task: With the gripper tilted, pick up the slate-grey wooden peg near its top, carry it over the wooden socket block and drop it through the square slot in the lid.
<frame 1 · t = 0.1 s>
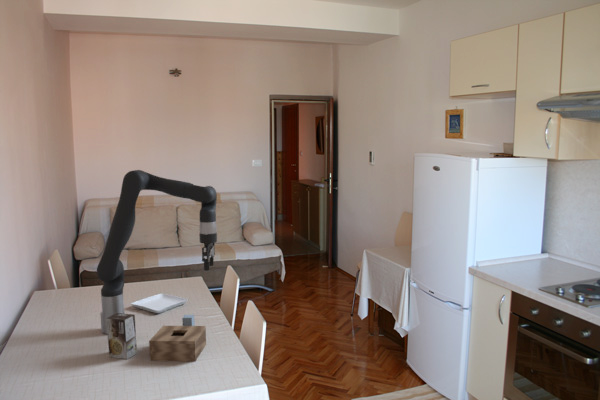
hand: (209, 268, 215), 29 cm above the table, tool pointing down, fingers open, 8 cm apart
coffee box: (123, 355, 195), on the table
slate peg: (189, 338, 211), on the table
wooden socket block: (179, 352, 197), on the table
salad plate: (160, 307, 254), on the table
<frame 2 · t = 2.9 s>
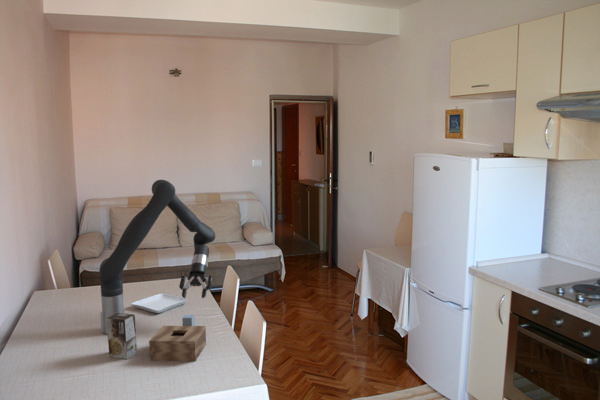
hand: (193, 297, 217), 16 cm above the table, tool tilted 45°, fingers open, 8 cm apart
nothing on the table moved.
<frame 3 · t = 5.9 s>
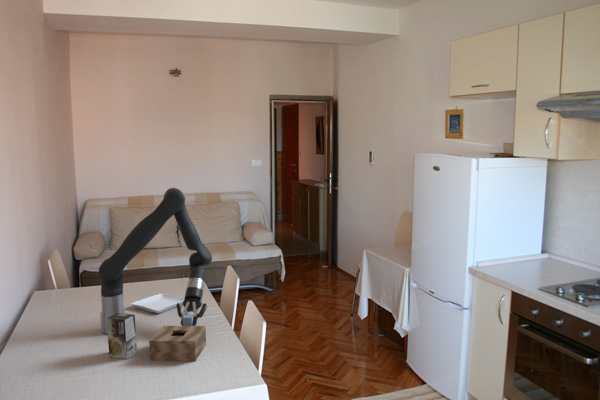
hand: (188, 325, 209), 6 cm above the table, tool tilted 45°, fingers closed on slate peg, 4 cm apart
slate peg: (189, 338, 211), on the table, touching gripper
everything else where it was.
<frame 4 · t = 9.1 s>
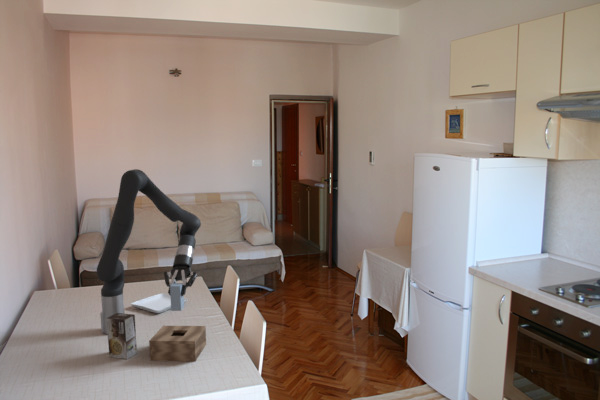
hand: (176, 295, 193), 24 cm above the table, tool tilted 45°, fingers closed on slate peg, 4 cm apart
slate peg: (177, 309, 195), point 18 cm above the table, touching gripper
everything else where it was.
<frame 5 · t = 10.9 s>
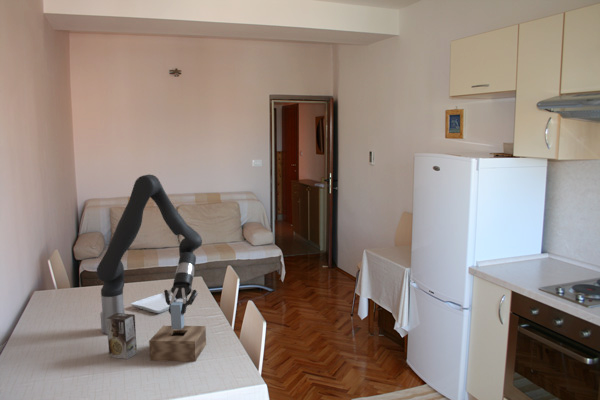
hand: (176, 313, 194), 16 cm above the table, tool tilted 45°, fingers closed on slate peg, 4 cm apart
slate peg: (178, 327, 195), point 10 cm above the table, touching gripper
everything else where it was.
when the fingers open (12 cm above the table, at t = 12.2 s): slate peg drops 6 cm, resting in wooden socket block.
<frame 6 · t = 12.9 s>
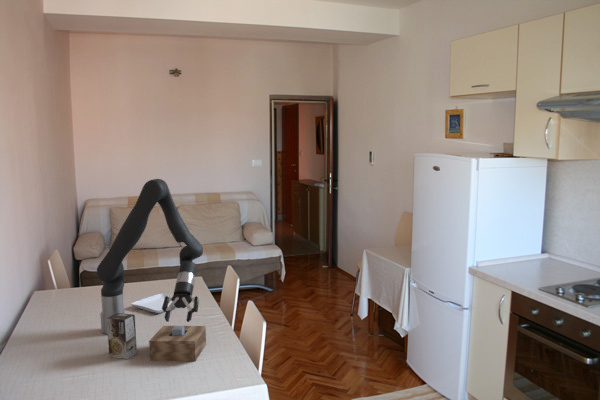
hand: (177, 321, 195), 13 cm above the table, tool tilted 45°, fingers open, 8 cm apart
slate peg: (179, 351, 197), resting in wooden socket block
everything else where it was.
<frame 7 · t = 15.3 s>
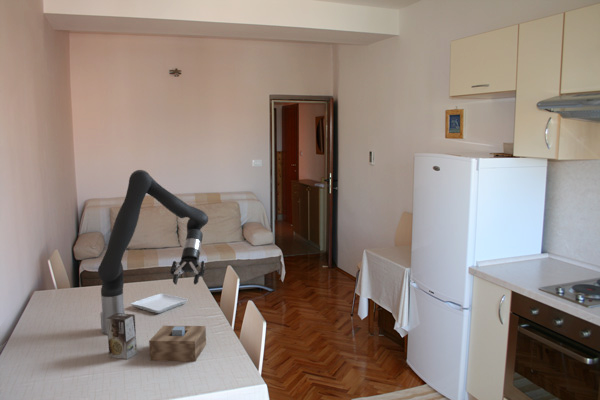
hand: (185, 283, 205), 25 cm above the table, tool tilted 45°, fingers open, 8 cm apart
nothing on the table moved.
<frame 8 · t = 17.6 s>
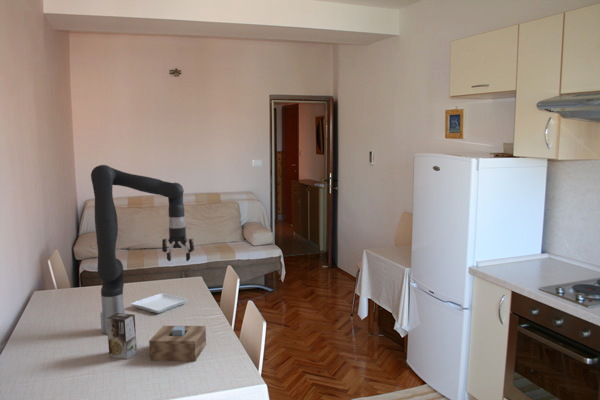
hand: (178, 260, 226), 30 cm above the table, tool pointing down, fingers open, 8 cm apart
nothing on the table moved.
at the end: slate peg inside the target area on the wooden socket block (0.2 cm from its centre), point 0.0 cm above the wooden socket block's base; the gripper is holding nothing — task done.
